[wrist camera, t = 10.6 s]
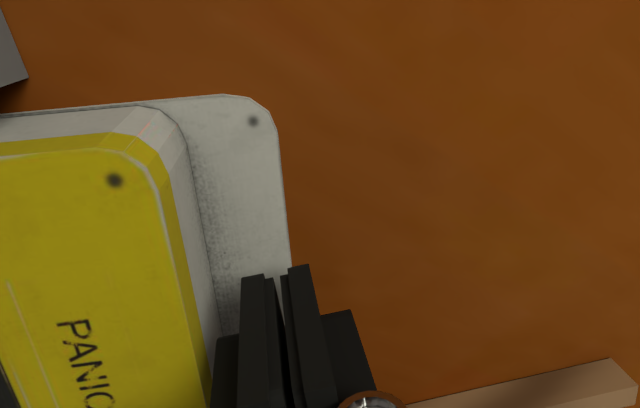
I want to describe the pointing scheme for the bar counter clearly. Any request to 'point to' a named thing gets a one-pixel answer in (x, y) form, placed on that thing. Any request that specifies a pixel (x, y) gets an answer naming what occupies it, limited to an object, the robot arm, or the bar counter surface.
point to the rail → (550, 390)
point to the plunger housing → (9, 57)
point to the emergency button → (132, 247)
